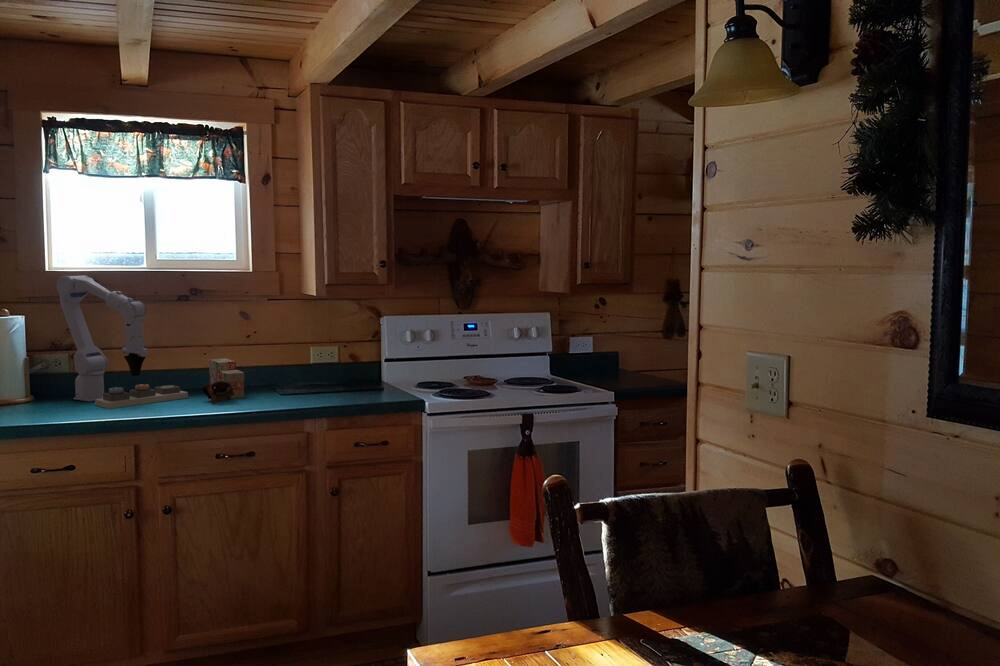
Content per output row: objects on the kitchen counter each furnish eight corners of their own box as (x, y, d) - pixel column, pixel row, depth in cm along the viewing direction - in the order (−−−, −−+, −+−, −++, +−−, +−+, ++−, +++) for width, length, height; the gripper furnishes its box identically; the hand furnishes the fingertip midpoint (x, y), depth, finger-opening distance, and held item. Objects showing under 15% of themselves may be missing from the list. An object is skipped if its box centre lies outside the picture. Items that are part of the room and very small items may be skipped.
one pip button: (164, 392, 282) (164, 387, 282) (158, 390, 285) (158, 386, 284) (176, 390, 285) (176, 386, 285) (170, 389, 288) (170, 385, 288)
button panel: (108, 408, 264) (107, 396, 264) (95, 405, 271) (94, 393, 271) (188, 397, 286) (187, 386, 285) (174, 394, 292) (173, 383, 292)
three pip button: (139, 390, 275) (138, 386, 275) (133, 389, 278) (133, 384, 278) (151, 389, 278) (151, 384, 278) (145, 387, 281) (145, 383, 281)
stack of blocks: (244, 397, 287) (244, 363, 286) (227, 399, 284) (226, 365, 282) (226, 389, 304) (225, 357, 303) (209, 391, 301) (208, 358, 300)
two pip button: (112, 394, 268) (112, 389, 268) (106, 392, 271) (106, 388, 271) (125, 392, 271) (125, 388, 271) (119, 391, 274) (119, 386, 274)
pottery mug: (239, 400, 284) (239, 382, 279) (225, 416, 276) (225, 398, 272) (208, 391, 285) (207, 373, 280) (194, 406, 277) (193, 388, 273)
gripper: (155, 337, 273) (157, 376, 274) (135, 334, 282) (136, 372, 284) (135, 338, 268) (136, 378, 269) (115, 335, 277) (117, 374, 278)
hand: (135, 375), depth 276 cm, fingers closed
